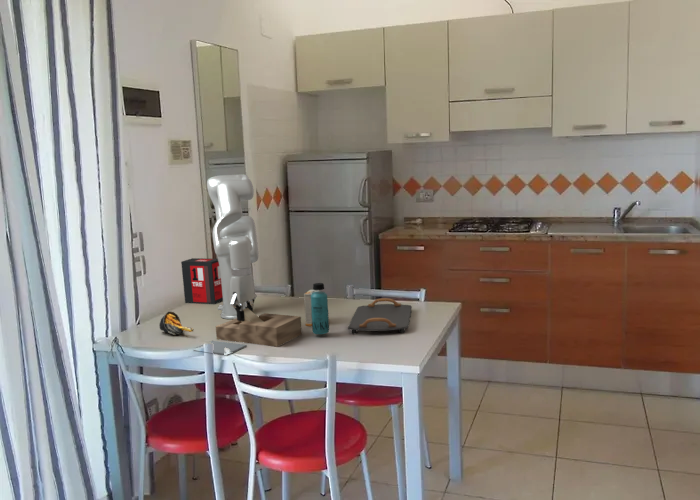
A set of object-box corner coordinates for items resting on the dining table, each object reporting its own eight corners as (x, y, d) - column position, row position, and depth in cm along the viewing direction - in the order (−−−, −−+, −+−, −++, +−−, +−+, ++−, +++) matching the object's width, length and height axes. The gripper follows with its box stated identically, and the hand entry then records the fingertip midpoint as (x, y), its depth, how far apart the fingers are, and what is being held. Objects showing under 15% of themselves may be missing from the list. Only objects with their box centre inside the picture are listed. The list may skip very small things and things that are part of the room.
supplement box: (317, 326, 258) (315, 293, 256) (305, 326, 259) (303, 293, 257) (322, 320, 266) (320, 289, 264) (310, 320, 267) (308, 289, 265)
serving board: (358, 311, 280) (358, 296, 279) (413, 309, 277) (412, 295, 276) (346, 337, 242) (345, 321, 241) (408, 336, 239) (408, 320, 238)
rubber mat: (192, 350, 234) (192, 349, 234) (212, 342, 244) (212, 340, 244) (227, 355, 226) (226, 354, 226) (246, 346, 236) (246, 344, 236)
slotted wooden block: (216, 339, 247) (215, 321, 246) (243, 327, 261) (241, 310, 260) (277, 346, 234) (276, 327, 232) (301, 334, 247) (300, 316, 246)
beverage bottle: (312, 334, 247) (308, 282, 244) (329, 332, 248) (326, 281, 245) (312, 338, 241) (309, 285, 238) (330, 337, 241) (327, 284, 238)
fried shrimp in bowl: (170, 316, 267) (202, 305, 258) (171, 343, 263) (203, 332, 255) (152, 313, 259) (184, 301, 251) (153, 340, 256) (186, 329, 247)
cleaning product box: (185, 303, 311) (181, 261, 308) (196, 298, 319) (192, 258, 316) (215, 304, 305) (211, 262, 302) (225, 299, 313) (221, 258, 310)
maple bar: (236, 317, 248) (240, 310, 247) (244, 314, 252) (247, 307, 251) (260, 339, 244) (264, 332, 243) (268, 335, 248) (271, 328, 247)
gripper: (247, 267, 255) (251, 312, 258) (219, 275, 241) (223, 323, 244) (263, 268, 252) (266, 314, 255) (235, 276, 237) (239, 325, 240)
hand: (245, 318), depth 249 cm, fingers closed on maple bar, 4 cm apart
